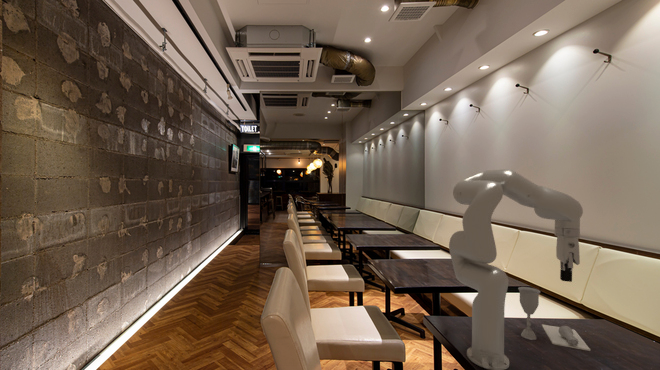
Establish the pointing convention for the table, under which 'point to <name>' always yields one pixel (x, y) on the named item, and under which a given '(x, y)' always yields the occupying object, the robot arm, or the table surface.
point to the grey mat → (559, 340)
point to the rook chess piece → (568, 335)
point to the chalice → (529, 308)
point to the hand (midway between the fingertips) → (566, 280)
